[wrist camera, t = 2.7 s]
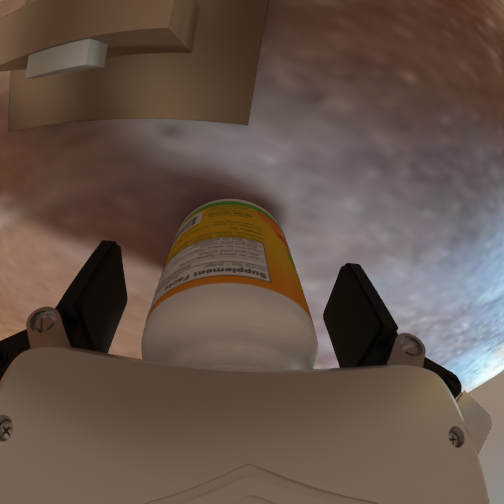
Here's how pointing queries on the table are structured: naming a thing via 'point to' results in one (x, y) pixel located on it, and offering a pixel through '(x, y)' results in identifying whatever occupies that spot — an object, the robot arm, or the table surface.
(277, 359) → the supplement bottle
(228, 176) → the table surface
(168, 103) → the holder
